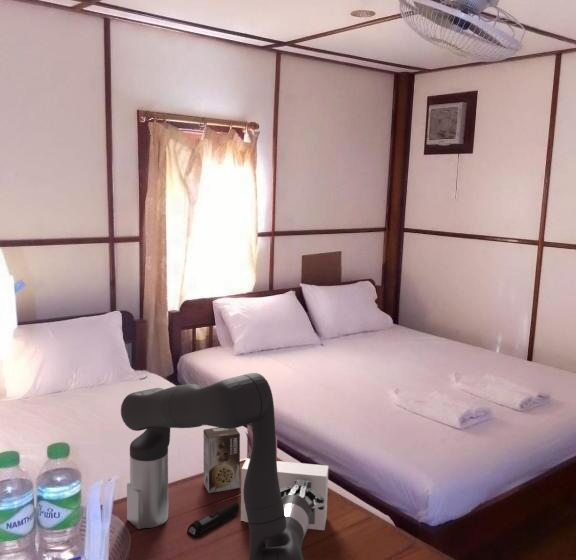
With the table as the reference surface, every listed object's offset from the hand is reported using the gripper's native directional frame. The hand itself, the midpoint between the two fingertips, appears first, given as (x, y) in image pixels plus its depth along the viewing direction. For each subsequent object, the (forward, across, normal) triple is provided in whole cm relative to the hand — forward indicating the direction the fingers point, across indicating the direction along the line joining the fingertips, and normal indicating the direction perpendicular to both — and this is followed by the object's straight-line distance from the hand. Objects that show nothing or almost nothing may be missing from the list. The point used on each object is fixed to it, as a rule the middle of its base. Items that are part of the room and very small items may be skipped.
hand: (302, 483), depth 146 cm
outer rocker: (+1, 0, +6) cm, 6 cm away
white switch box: (+5, +5, +13) cm, 14 cm away
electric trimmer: (-1, +22, +13) cm, 26 cm away
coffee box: (+19, +25, +13) cm, 34 cm away
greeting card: (+23, +15, +13) cm, 31 cm away
